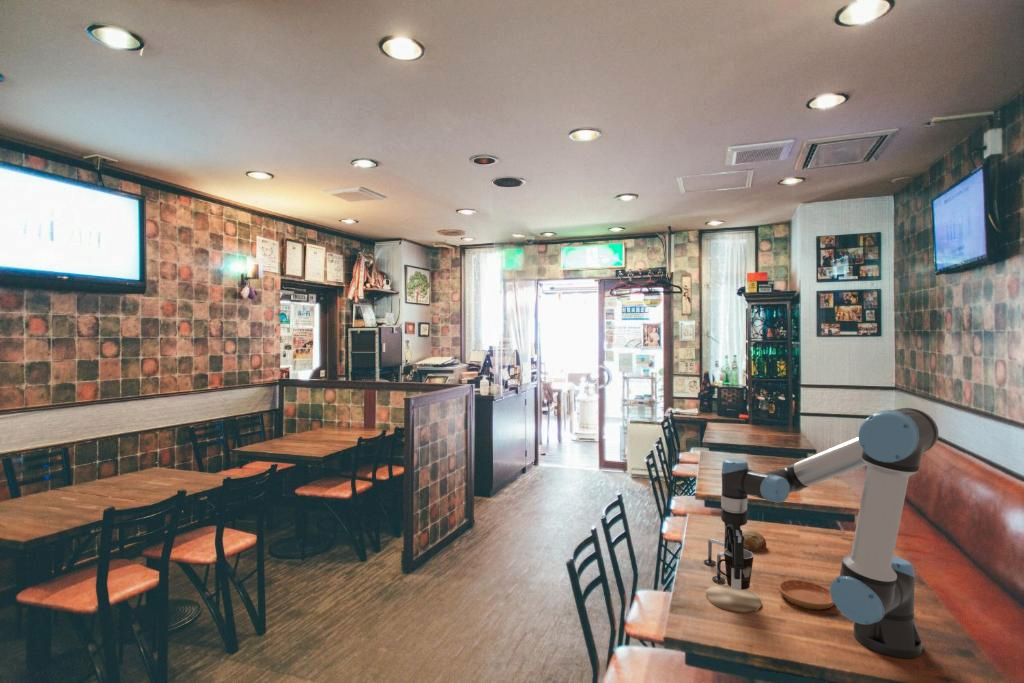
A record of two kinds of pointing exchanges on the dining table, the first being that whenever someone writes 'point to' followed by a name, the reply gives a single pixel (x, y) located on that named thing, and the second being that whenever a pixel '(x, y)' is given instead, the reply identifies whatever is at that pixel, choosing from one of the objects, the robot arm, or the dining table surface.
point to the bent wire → (711, 562)
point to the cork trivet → (733, 599)
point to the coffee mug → (744, 572)
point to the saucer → (806, 594)
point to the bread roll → (753, 541)
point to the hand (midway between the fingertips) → (733, 582)
